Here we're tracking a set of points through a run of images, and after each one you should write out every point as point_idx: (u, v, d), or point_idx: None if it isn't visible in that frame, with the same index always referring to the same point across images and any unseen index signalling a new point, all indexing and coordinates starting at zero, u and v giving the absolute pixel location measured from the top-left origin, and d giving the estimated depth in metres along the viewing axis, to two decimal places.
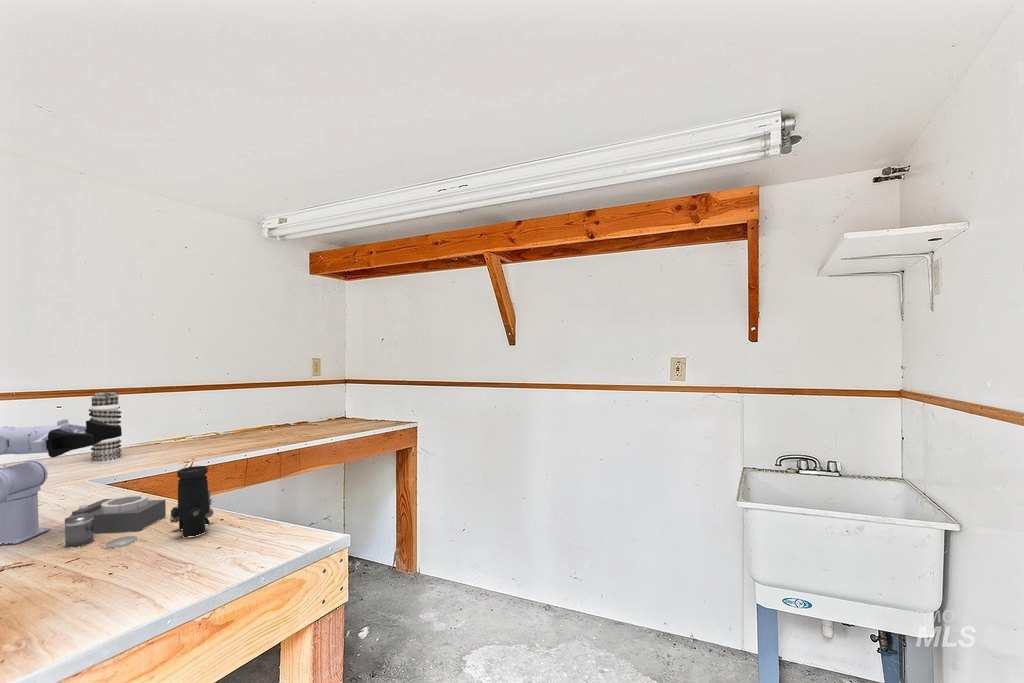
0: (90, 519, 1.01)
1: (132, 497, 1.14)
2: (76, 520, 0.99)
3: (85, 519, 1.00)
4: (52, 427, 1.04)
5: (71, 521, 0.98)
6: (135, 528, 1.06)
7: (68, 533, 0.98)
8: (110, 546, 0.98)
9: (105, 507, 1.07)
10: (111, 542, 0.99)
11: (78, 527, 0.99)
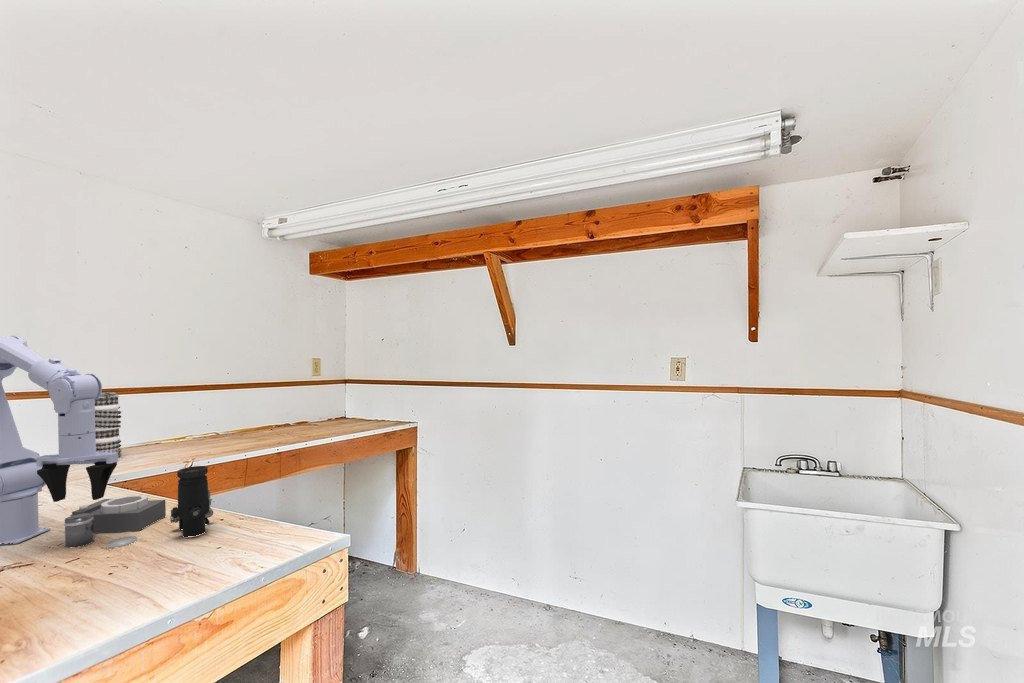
0: (90, 519, 1.01)
1: (132, 497, 1.14)
2: (76, 520, 0.99)
3: (85, 519, 1.00)
4: (61, 453, 0.98)
5: (71, 521, 0.98)
6: (135, 528, 1.06)
7: (68, 533, 0.98)
8: (110, 546, 0.98)
9: (105, 507, 1.07)
10: (111, 542, 0.99)
11: (78, 527, 0.99)
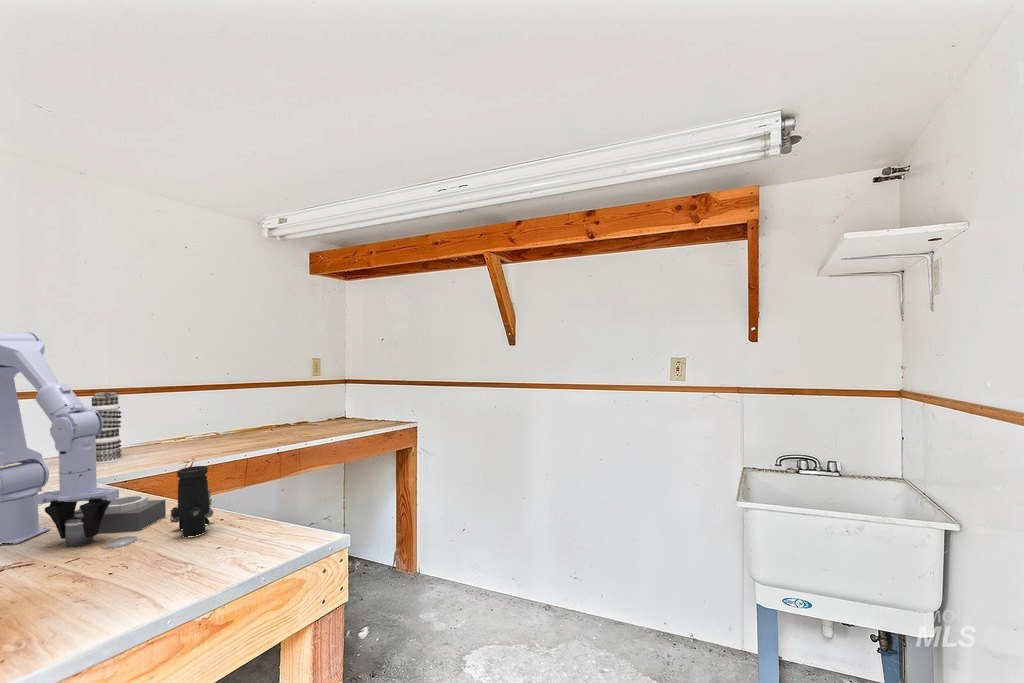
0: None
1: (132, 497, 1.14)
2: (76, 520, 0.99)
3: None
4: (62, 491, 0.98)
5: (71, 521, 0.98)
6: (135, 528, 1.06)
7: (68, 533, 0.98)
8: (110, 546, 0.98)
9: None
10: (111, 542, 0.99)
11: (78, 527, 0.99)
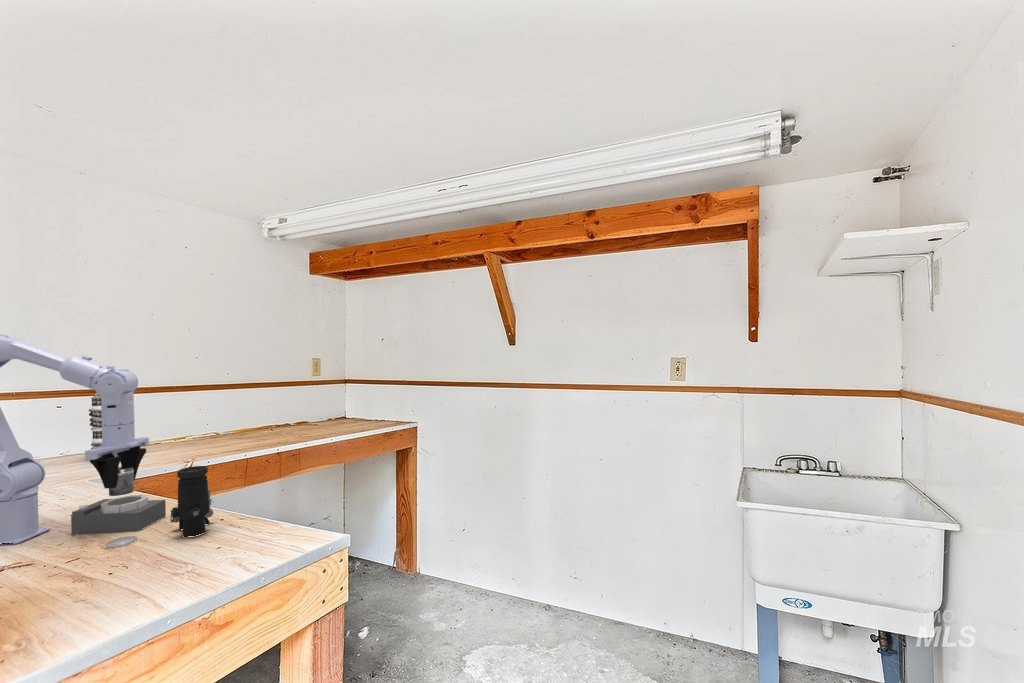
0: None
1: (132, 497, 1.14)
2: (131, 468, 1.10)
3: None
4: (126, 440, 1.08)
5: (130, 469, 1.09)
6: (135, 528, 1.06)
7: (127, 480, 1.09)
8: (110, 546, 0.98)
9: (105, 507, 1.07)
10: (111, 542, 0.99)
11: (133, 474, 1.10)
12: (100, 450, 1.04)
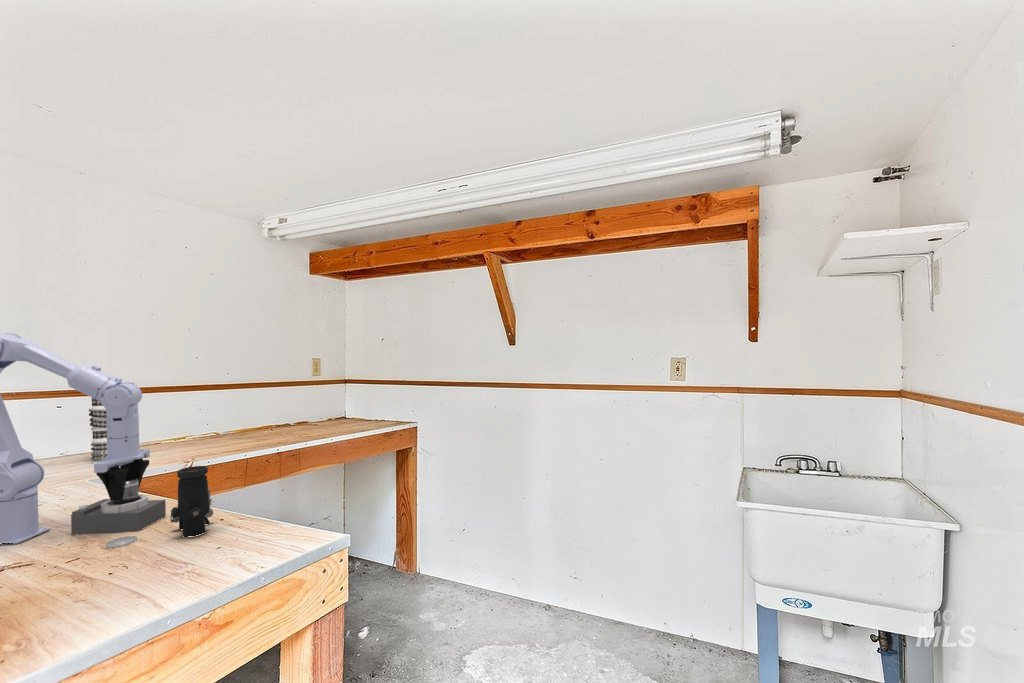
0: None
1: None
2: (137, 479, 1.12)
3: None
4: (132, 452, 1.10)
5: (135, 480, 1.11)
6: (135, 528, 1.06)
7: (134, 492, 1.10)
8: (110, 546, 0.98)
9: (105, 507, 1.07)
10: (111, 542, 0.99)
11: None
12: (109, 463, 1.05)
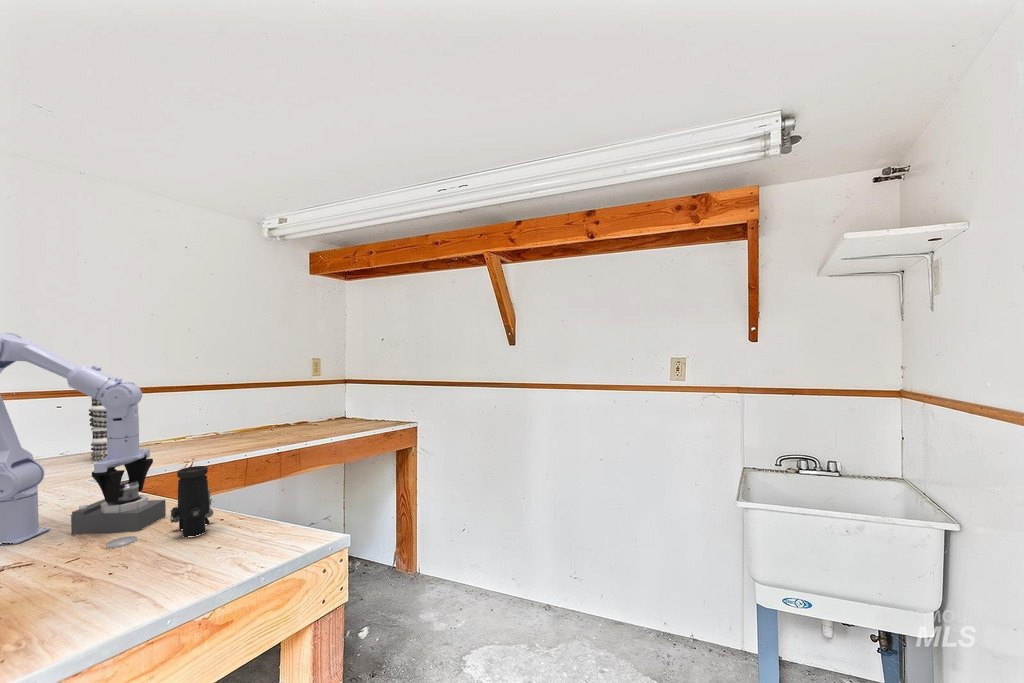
0: None
1: None
2: (137, 482, 1.11)
3: None
4: (132, 452, 1.10)
5: (136, 483, 1.11)
6: (135, 528, 1.06)
7: (134, 494, 1.10)
8: (110, 546, 0.98)
9: (105, 507, 1.07)
10: (111, 542, 0.99)
11: None
12: (109, 463, 1.05)
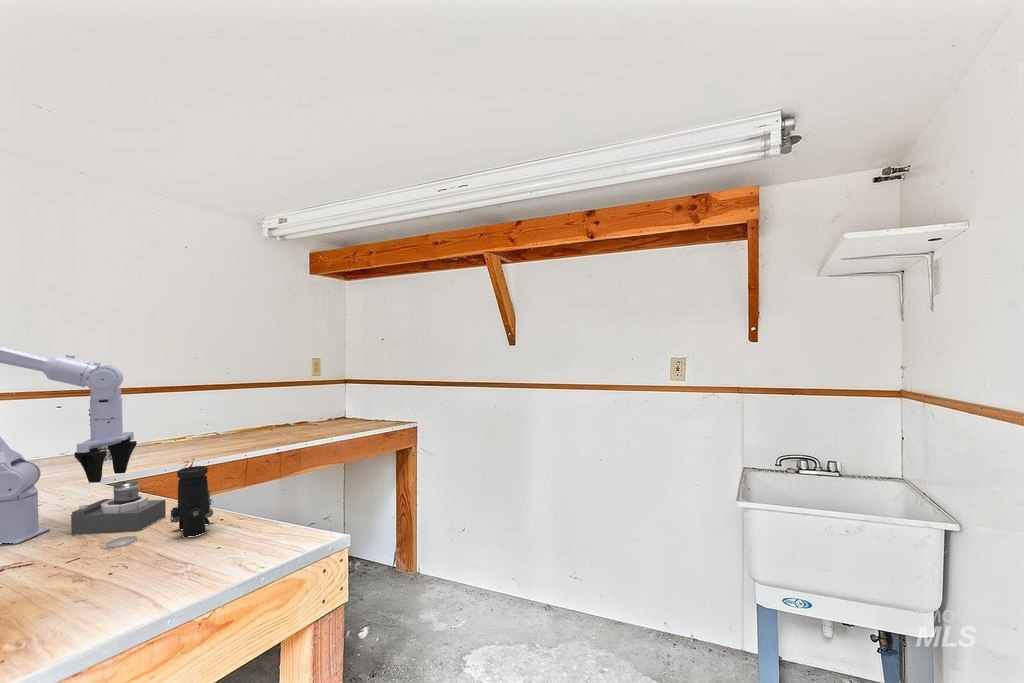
0: None
1: None
2: (137, 482, 1.11)
3: None
4: (115, 433, 1.12)
5: (135, 483, 1.11)
6: (135, 528, 1.06)
7: (134, 494, 1.10)
8: (110, 546, 0.98)
9: (105, 507, 1.07)
10: (111, 542, 0.99)
11: None
12: (91, 443, 1.07)
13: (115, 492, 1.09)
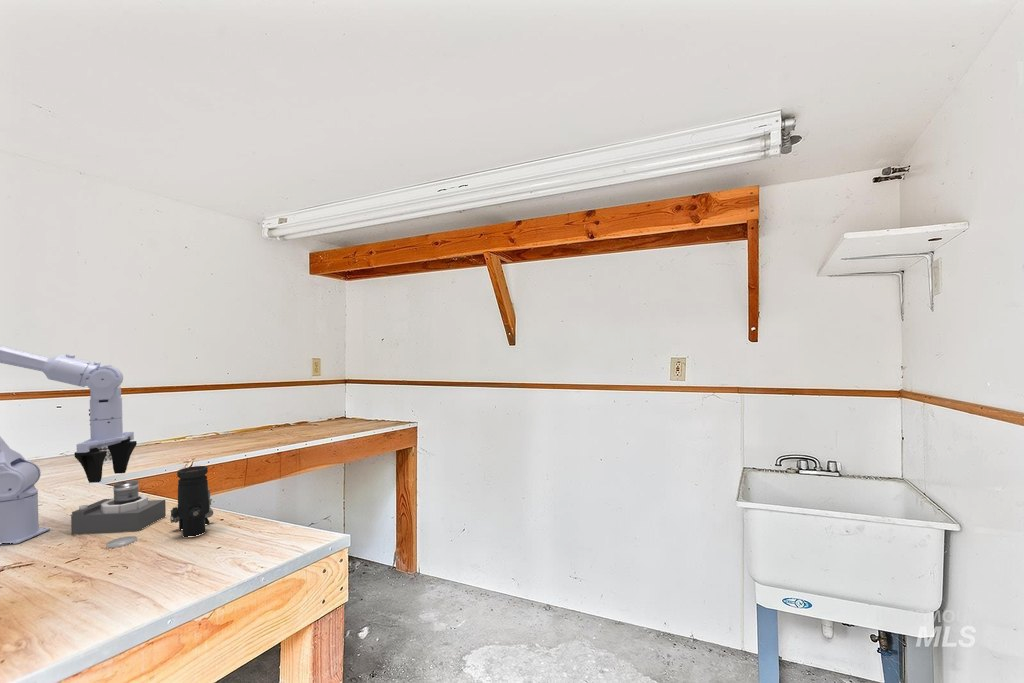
0: None
1: None
2: (137, 482, 1.11)
3: None
4: (115, 433, 1.12)
5: (135, 483, 1.11)
6: (135, 528, 1.06)
7: (134, 494, 1.10)
8: (110, 546, 0.98)
9: (105, 507, 1.07)
10: (111, 542, 0.99)
11: None
12: (91, 443, 1.07)
13: (115, 492, 1.09)
